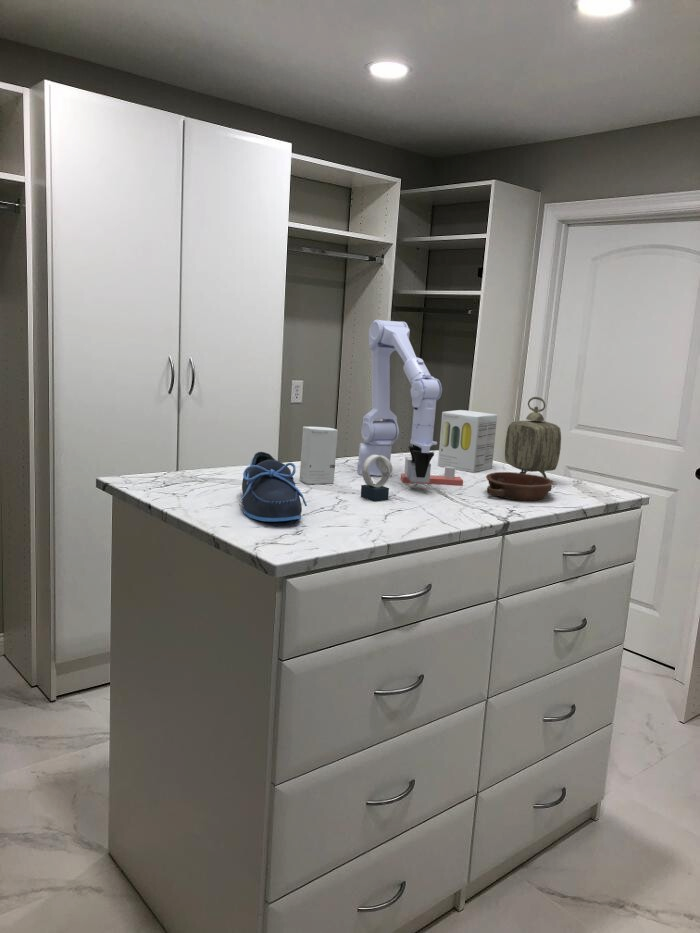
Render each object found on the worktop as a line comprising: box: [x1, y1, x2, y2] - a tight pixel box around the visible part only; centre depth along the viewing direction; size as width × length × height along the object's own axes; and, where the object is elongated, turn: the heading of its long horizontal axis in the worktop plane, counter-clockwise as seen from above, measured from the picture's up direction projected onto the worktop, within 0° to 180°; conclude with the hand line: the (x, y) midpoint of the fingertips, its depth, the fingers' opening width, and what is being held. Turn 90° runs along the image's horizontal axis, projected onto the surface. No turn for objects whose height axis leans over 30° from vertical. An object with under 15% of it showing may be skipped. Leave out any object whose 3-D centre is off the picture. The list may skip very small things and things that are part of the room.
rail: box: [400, 456, 464, 487], centre depth 214 cm, size 17×5×6 cm, turn 94°
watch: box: [360, 455, 393, 503], centre depth 189 cm, size 6×8×11 cm
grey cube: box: [408, 460, 432, 484], centre depth 203 cm, size 5×5×5 cm
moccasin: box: [239, 451, 308, 523], centre depth 172 cm, size 14×34×12 cm, turn 21°
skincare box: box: [299, 426, 339, 485], centre depth 204 cm, size 8×6×15 cm
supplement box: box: [437, 409, 498, 473], centre depth 241 cm, size 13×13×18 cm
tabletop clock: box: [504, 396, 562, 479], centre depth 224 cm, size 14×9×25 cm, turn 31°
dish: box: [486, 471, 554, 502], centre depth 204 cm, size 18×22×5 cm
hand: (419, 475), depth 203 cm, fingers closed on grey cube, 5 cm apart
